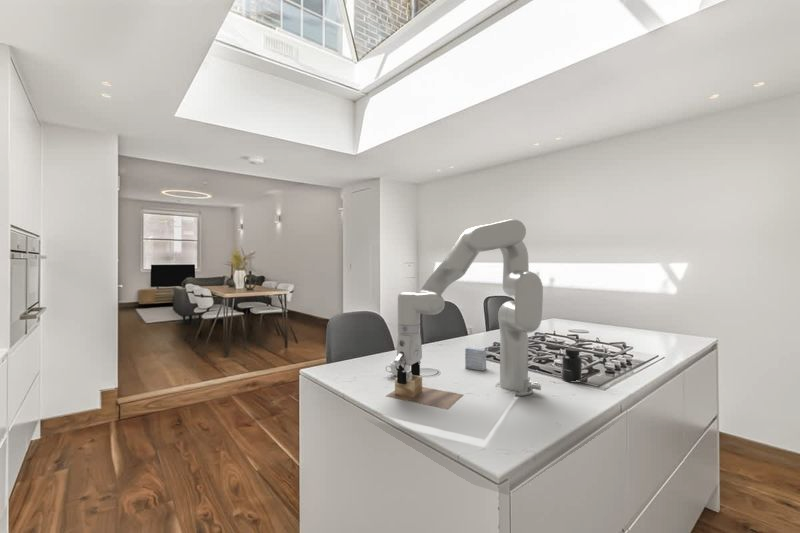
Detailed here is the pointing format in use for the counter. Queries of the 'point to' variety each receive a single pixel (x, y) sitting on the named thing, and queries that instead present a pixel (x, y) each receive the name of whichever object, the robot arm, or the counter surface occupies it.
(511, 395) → the counter surface
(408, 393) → the wooden storage bin
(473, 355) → the medicine box
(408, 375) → the steel rod
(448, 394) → the walnut board
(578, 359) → the supplement bottle
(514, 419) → the counter surface
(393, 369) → the teacup
